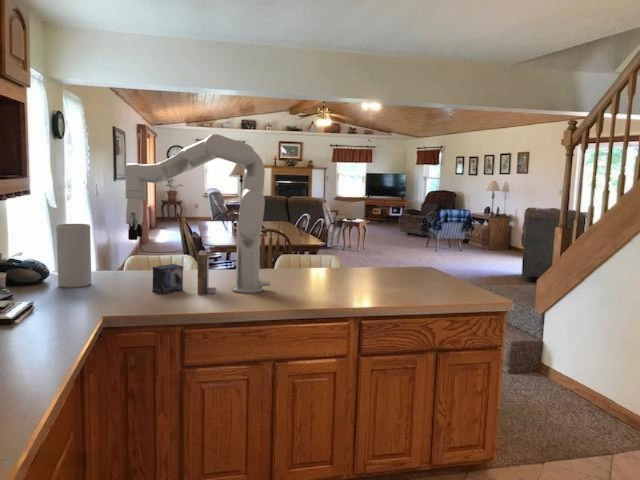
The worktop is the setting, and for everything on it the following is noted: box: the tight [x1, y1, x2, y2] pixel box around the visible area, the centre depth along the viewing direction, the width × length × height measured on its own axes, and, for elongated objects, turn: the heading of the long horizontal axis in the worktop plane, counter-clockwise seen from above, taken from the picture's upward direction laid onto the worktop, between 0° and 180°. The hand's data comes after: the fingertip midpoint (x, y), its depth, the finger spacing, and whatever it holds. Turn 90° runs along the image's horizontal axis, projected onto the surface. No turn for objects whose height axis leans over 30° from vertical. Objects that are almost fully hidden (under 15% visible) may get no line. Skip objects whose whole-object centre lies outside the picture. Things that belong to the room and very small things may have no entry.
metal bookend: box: [205, 254, 217, 295], centre depth 207 cm, size 4×11×14 cm, turn 9°
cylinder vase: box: [55, 223, 92, 289], centre depth 209 cm, size 12×12×25 cm
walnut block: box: [197, 249, 208, 296], centre depth 207 cm, size 3×12×16 cm, turn 9°
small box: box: [152, 263, 184, 295], centre depth 205 cm, size 11×6×10 cm, turn 143°
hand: (135, 238), depth 202 cm, fingers open, 9 cm apart
